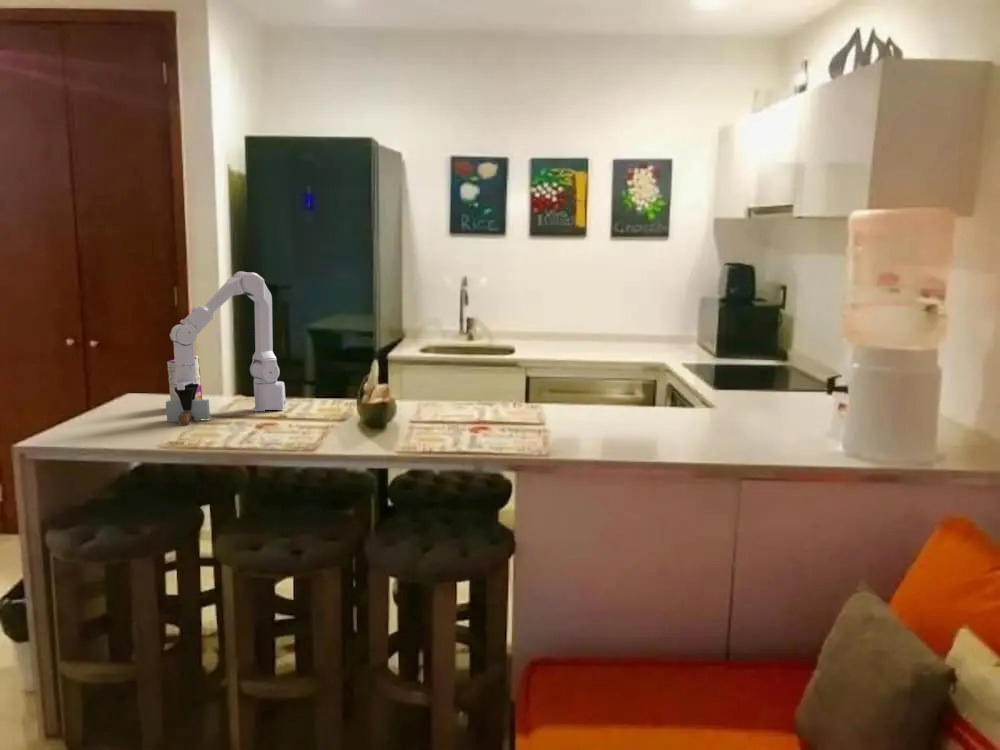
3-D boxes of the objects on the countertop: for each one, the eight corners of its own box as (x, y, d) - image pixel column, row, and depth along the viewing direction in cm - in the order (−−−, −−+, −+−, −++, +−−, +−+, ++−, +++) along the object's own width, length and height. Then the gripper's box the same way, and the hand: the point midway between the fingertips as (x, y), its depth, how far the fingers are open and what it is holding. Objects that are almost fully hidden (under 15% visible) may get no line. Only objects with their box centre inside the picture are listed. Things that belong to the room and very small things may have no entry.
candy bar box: (189, 404, 283) (185, 355, 281) (203, 405, 282) (199, 355, 280) (170, 412, 272) (166, 360, 270) (184, 412, 272) (180, 361, 269)
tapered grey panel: (210, 418, 262) (208, 399, 261) (208, 420, 260) (206, 400, 259) (169, 420, 261) (167, 400, 260) (167, 421, 258) (165, 402, 257)
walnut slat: (198, 415, 267) (198, 405, 267) (187, 425, 254) (186, 415, 253) (190, 415, 267) (190, 406, 267) (179, 425, 253) (178, 415, 253)
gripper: (177, 361, 264) (180, 404, 266) (164, 369, 250) (168, 414, 252) (201, 360, 265) (204, 404, 267) (189, 368, 251) (193, 414, 253)
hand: (188, 409), depth 260 cm, fingers closed on tapered grey panel, 2 cm apart
